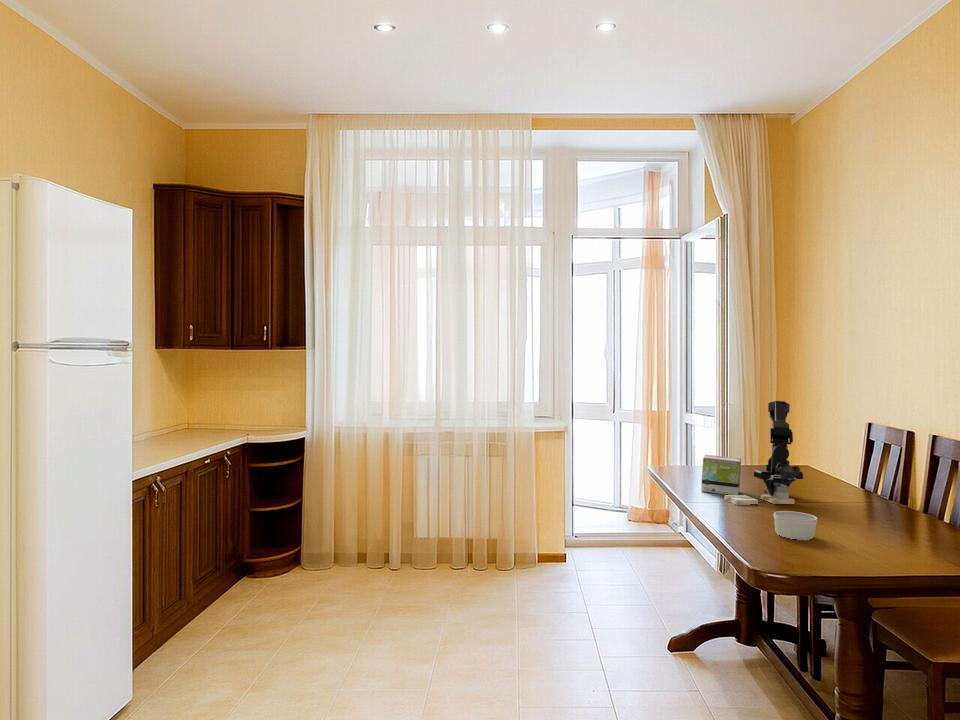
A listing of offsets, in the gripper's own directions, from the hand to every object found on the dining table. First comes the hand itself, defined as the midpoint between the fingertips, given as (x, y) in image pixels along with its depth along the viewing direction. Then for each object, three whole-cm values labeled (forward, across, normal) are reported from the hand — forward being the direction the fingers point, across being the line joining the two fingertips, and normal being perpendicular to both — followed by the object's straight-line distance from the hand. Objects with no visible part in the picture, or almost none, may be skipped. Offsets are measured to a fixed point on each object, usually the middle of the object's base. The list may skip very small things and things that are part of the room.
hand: (777, 495), depth 287 cm
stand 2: (+2, 0, 0) cm, 2 cm away
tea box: (+3, -14, +19) cm, 24 cm away
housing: (0, 0, 0) cm, 0 cm away
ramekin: (+3, -25, -47) cm, 53 cm away
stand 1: (+2, -16, 0) cm, 16 cm away
